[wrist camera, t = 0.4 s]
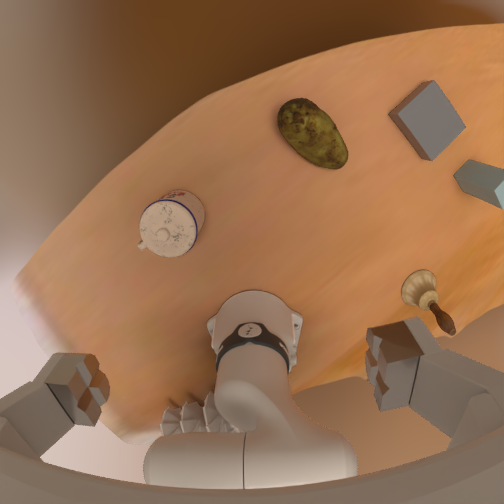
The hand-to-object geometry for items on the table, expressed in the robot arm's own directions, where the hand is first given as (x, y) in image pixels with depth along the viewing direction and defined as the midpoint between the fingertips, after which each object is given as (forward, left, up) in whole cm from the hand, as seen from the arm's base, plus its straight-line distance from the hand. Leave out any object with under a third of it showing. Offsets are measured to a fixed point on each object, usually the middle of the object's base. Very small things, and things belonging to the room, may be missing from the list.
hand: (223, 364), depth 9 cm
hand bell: (-26, -31, -46) cm, 62 cm away
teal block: (-3, -40, -46) cm, 61 cm away
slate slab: (+7, -30, -46) cm, 56 cm away
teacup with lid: (-8, +15, -46) cm, 49 cm away
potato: (+4, -9, -46) cm, 47 cm away
